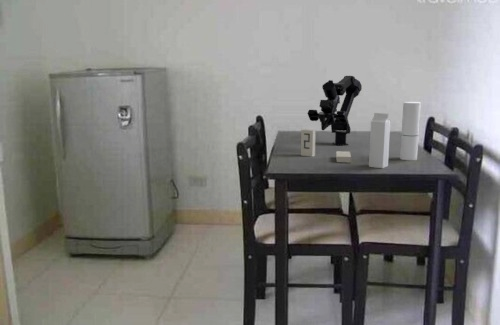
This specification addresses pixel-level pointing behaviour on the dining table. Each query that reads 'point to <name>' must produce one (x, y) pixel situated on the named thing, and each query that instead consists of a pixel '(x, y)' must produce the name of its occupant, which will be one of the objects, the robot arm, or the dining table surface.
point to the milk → (379, 141)
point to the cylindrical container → (410, 130)
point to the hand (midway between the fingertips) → (322, 129)
